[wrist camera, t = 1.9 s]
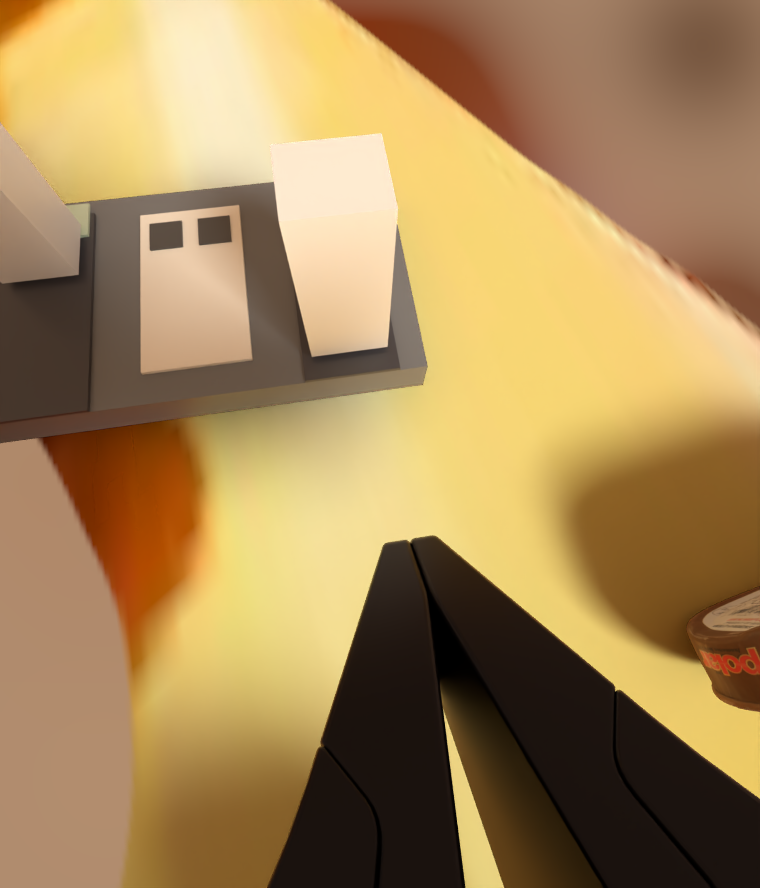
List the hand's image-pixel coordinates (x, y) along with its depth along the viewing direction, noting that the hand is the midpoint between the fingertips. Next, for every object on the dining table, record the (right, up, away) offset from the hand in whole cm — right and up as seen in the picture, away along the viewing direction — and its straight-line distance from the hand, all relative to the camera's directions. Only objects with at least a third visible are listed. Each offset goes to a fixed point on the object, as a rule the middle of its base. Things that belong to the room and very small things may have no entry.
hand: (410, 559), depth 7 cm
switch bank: (-10, +9, +17) cm, 21 cm away
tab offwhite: (-2, +7, +14) cm, 16 cm away
